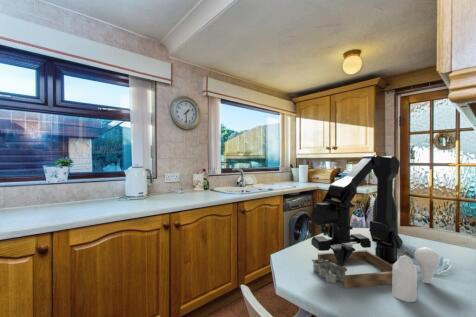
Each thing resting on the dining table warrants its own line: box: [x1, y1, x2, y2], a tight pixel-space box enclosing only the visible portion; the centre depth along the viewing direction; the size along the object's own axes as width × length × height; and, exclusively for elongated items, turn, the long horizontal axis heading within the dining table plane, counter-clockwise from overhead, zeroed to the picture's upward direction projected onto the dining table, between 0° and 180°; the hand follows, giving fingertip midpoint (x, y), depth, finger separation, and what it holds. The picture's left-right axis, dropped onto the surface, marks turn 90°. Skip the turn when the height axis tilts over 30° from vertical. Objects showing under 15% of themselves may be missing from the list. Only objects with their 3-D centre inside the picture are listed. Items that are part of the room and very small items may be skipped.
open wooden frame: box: [317, 249, 393, 290], centre depth 79 cm, size 20×17×4 cm
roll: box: [391, 254, 418, 303], centre depth 65 cm, size 6×12×6 cm
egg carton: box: [311, 258, 348, 284], centre depth 78 cm, size 11×8×4 cm
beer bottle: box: [371, 194, 399, 235], centre depth 108 cm, size 10×10×33 cm
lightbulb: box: [414, 246, 441, 284], centre depth 72 cm, size 6×6×11 cm
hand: (340, 267), depth 78 cm, fingers closed
